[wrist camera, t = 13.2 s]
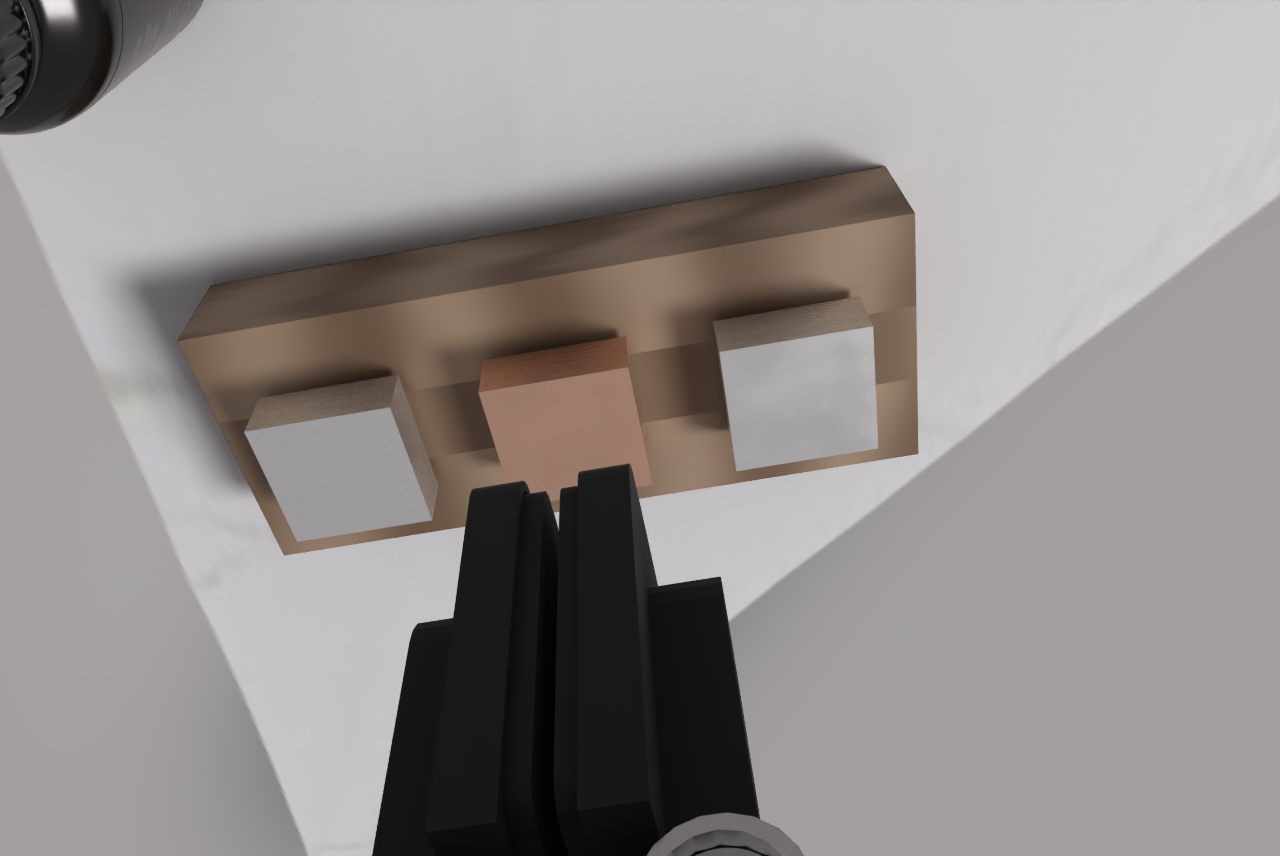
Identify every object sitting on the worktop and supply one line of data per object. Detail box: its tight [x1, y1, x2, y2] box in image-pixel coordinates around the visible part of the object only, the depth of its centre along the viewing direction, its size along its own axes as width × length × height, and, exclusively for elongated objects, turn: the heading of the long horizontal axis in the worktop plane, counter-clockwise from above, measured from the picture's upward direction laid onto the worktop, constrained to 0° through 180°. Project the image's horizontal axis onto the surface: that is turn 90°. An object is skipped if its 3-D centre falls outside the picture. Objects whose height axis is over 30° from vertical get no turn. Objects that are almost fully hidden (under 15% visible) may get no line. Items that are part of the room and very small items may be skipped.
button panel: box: [177, 167, 918, 555], centre depth 39 cm, size 25×10×4 cm, turn 100°
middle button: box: [478, 336, 652, 501], centre depth 38 cm, size 5×5×6 cm
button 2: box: [713, 297, 878, 471], centre depth 38 cm, size 5×5×6 cm
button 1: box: [244, 375, 438, 542], centre depth 39 cm, size 5×5×6 cm
